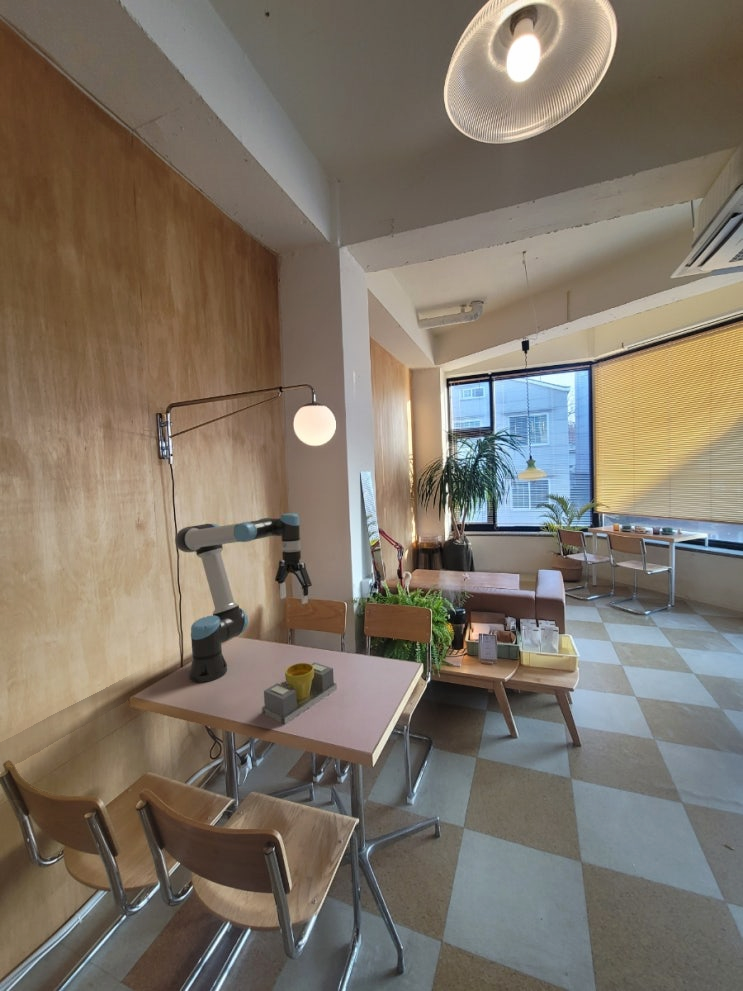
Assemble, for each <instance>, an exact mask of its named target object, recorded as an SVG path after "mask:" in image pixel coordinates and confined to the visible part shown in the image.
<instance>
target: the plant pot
mask: <svg viewBox="0 0 743 991" xmlns="http://www.w3.org/2000/svg"><path fill="white" fill-rule="evenodd" d="M311 664H312V663H309V662H297V663H294V664H291V665H289V666H288V667H287V668H285V672H284V675H285V677H284V678H285V683H286V682H287V683H288V684H287V685H288V688H290V689H293V690H295V691H296V695H297V700H301V699H305V698H306V697H308V696H309V694H310V689H311V683H312V679H313V678H314V667H313V666H312V665H311Z"/></svg>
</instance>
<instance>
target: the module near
mask: <svg viewBox="0 0 743 991" xmlns="http://www.w3.org/2000/svg"><path fill="white" fill-rule="evenodd" d="M263 697H264V698H263V700H264V702H263V703H264V706H265V708H267V709H269V710H271V711H273V712H275V713H277V714H279V715H281V716H285V715H287V714H288V713H290V712H291V711H293V710H294V709H296V708H297V695H296V691H295V690H293V689H290V688H289V686H288V687H287V686H285V685H282V684H281V683H275V684H273V685H271V686H270V687H268V688H266V689H264V690H263Z"/></svg>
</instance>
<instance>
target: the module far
mask: <svg viewBox="0 0 743 991" xmlns="http://www.w3.org/2000/svg"><path fill="white" fill-rule="evenodd" d="M310 664H311V665H312V666H313V667H314V678H313V679H312V683H311V686H312V687H314V688H317V689H320V690H325V689H326V688H328V687H329V686H331V685H332V684H334V683H335V680H334V678H335V677H334V668H333V667H329V666H327V665H323V664H321V663H318V662H312V663H310Z"/></svg>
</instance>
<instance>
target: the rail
mask: <svg viewBox="0 0 743 991" xmlns="http://www.w3.org/2000/svg"><path fill="white" fill-rule="evenodd" d="M337 689H338V686H337V683H335V682H334V684H332V685H331V686H329V687H328V688H326V689H325V690H320V689H317V688H314V687H312V686H311V689H310V694H309V696H308V697H306V698H305V699H301V700H297V708H296V709H294V710H293V711H291V712H290V713H288V714H287V715H285V716H281V715H279V714H277V713H275V712H273V711H271V710H269V709H267V708H265V705H263V706H262V707H261V713H262V714H263V715H265V716H267V717H270V718H272V719H274V720H276V721H277V722H280V723H282V724H284V725H286V724H288V723H289V722H290V721H292V720H293V719H295V718H297V717H298V716H299V715H301V714H303V712H305V711H307V710H308V709H310V708H311V707H312V706H314V705H316V704H317V703H319V702H320V701H322V700H323V699H324V698H326V697H327V696H329V695H330V694H331V693H333V692H335V691H336V690H337Z"/></svg>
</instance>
